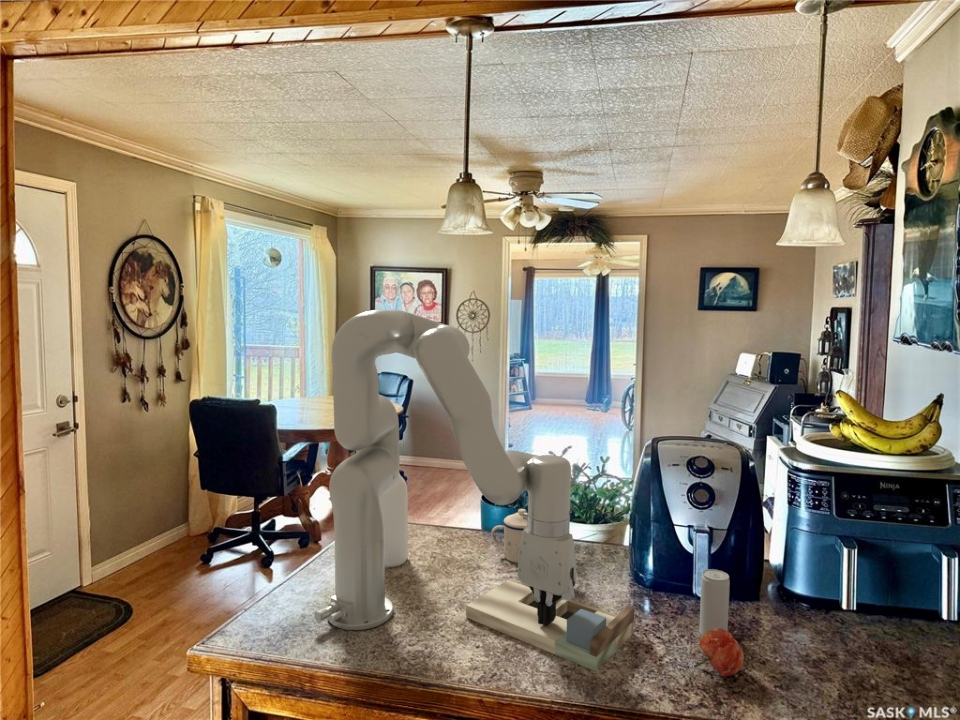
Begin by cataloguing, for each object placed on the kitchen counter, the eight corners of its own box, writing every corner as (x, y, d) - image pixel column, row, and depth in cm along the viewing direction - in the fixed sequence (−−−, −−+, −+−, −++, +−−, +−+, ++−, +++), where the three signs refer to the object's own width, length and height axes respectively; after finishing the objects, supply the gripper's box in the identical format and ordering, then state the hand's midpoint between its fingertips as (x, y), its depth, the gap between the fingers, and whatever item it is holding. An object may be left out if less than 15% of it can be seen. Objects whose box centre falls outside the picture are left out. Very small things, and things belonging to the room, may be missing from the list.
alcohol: (377, 551, 149) (375, 431, 147) (411, 554, 148) (411, 433, 145) (365, 567, 141) (364, 439, 138) (402, 569, 139) (401, 441, 137)
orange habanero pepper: (705, 696, 99) (760, 670, 95) (678, 653, 100) (731, 627, 97) (707, 675, 105) (759, 651, 102) (682, 636, 107) (732, 611, 104)
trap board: (596, 671, 101) (596, 642, 101) (466, 617, 118) (466, 592, 118) (633, 633, 113) (634, 607, 113) (510, 589, 130) (510, 566, 130)
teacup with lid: (541, 550, 151) (542, 504, 150) (539, 565, 142) (539, 517, 141) (494, 547, 153) (494, 501, 152) (488, 562, 144) (488, 514, 143)
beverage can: (726, 632, 113) (729, 571, 112) (727, 646, 109) (730, 582, 108) (698, 628, 115) (701, 567, 114) (699, 641, 110) (701, 578, 109)
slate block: (592, 652, 102) (592, 629, 102) (566, 641, 106) (566, 619, 105) (605, 639, 106) (606, 617, 106) (580, 629, 109) (581, 608, 109)
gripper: (502, 521, 111) (501, 616, 113) (574, 541, 102) (571, 645, 104) (525, 510, 117) (523, 601, 119) (595, 528, 108) (592, 627, 110)
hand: (546, 621), depth 111 cm, fingers closed
